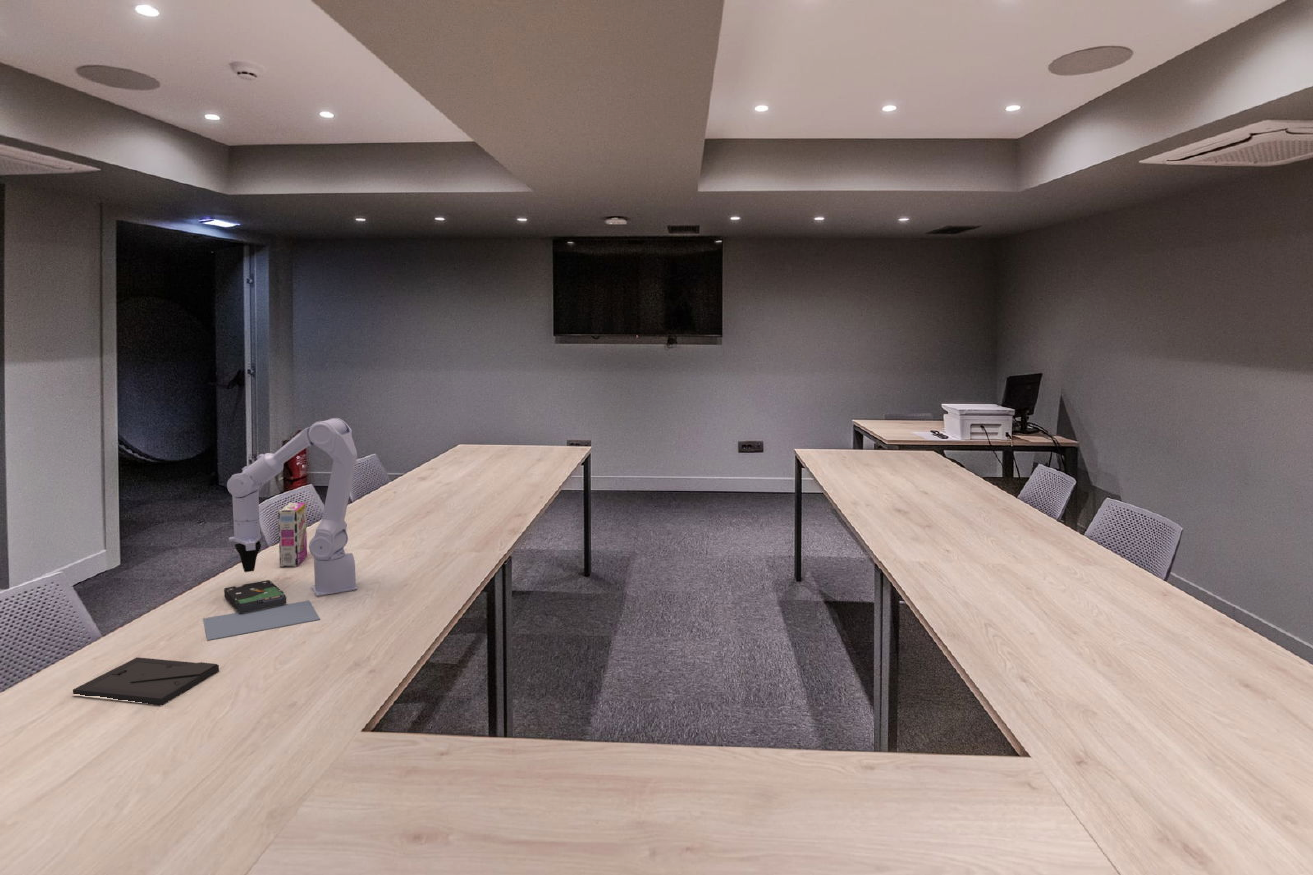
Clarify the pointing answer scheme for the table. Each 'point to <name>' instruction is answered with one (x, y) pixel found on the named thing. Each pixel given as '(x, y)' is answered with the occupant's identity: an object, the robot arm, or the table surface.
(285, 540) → the candy bar box
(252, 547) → the robot arm
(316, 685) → the table surface
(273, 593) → the disk drive
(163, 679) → the picture frame
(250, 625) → the mat
